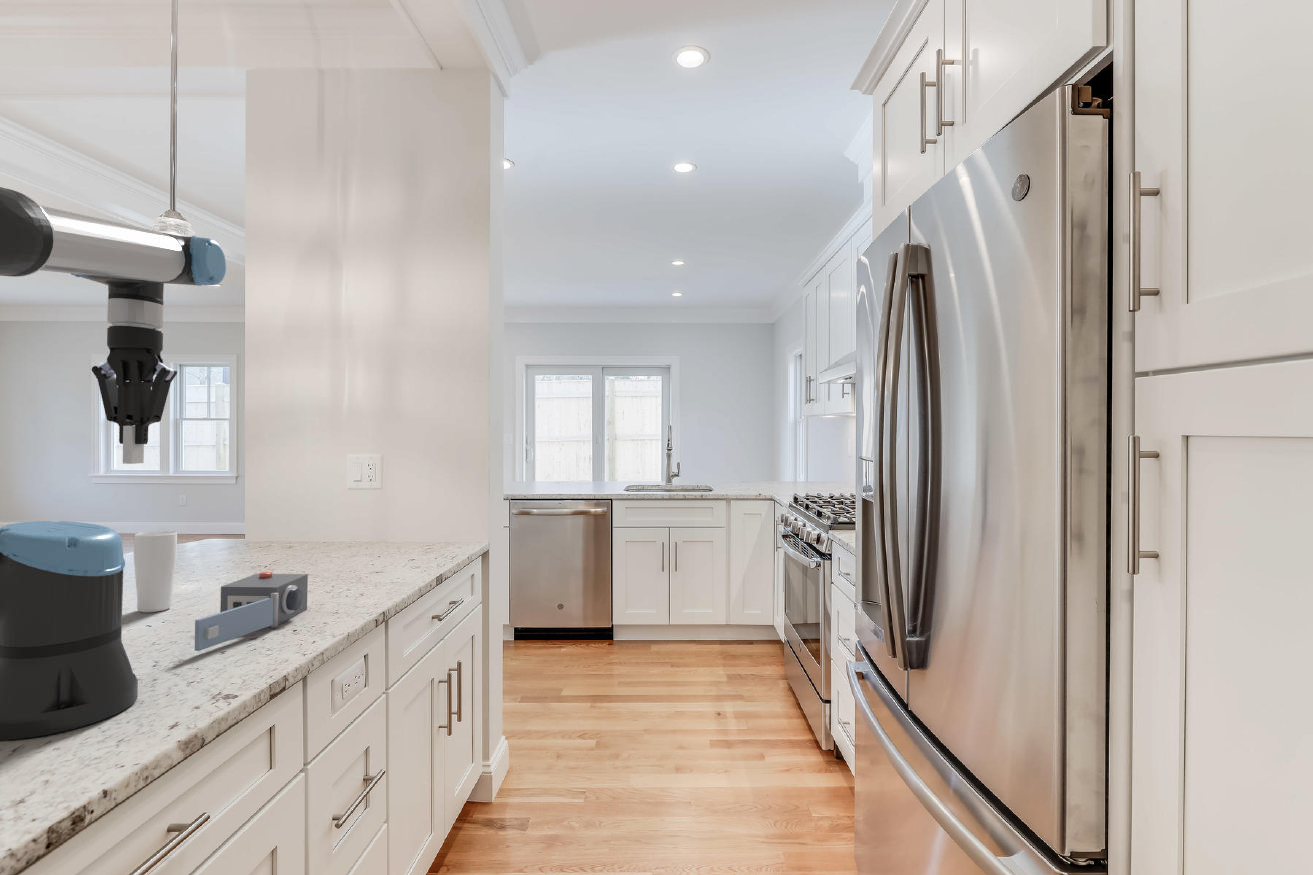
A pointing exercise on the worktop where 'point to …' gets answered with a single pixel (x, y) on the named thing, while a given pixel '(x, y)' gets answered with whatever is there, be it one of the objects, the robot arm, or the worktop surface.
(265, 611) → the side door
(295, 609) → the camera box
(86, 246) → the robot arm
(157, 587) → the drinking glass
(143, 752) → the worktop surface
